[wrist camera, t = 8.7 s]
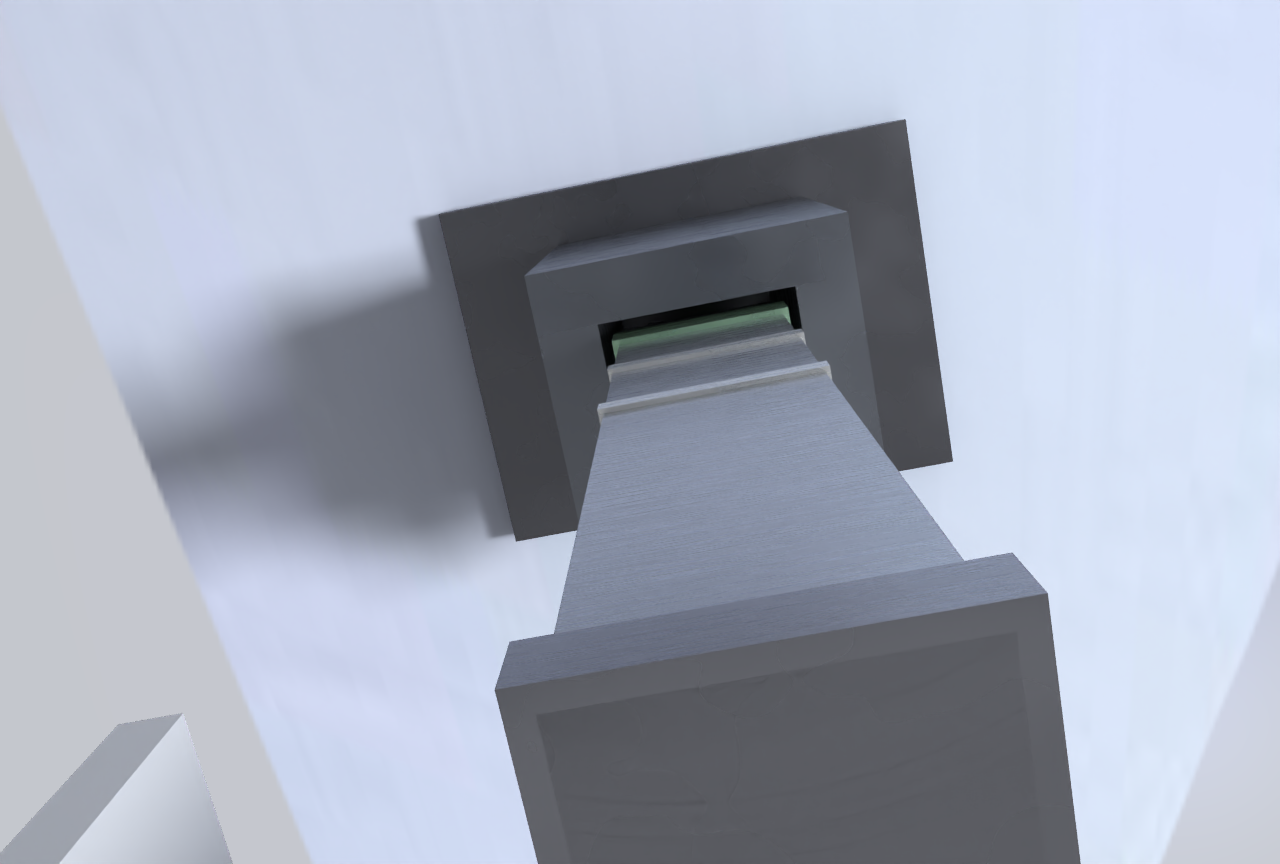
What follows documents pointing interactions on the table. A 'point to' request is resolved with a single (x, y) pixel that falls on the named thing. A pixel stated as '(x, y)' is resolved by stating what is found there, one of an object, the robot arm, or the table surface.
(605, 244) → the stand
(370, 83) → the table surface
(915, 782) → the column
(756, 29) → the table surface
